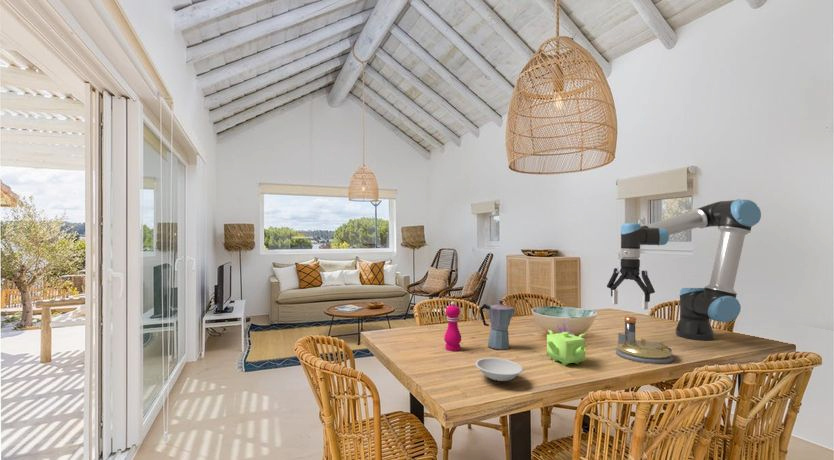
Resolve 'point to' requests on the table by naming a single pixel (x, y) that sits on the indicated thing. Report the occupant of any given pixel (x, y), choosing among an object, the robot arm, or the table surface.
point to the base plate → (643, 358)
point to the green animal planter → (566, 347)
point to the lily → (564, 328)
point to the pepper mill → (452, 328)
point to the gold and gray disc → (642, 347)
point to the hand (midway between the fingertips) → (629, 306)
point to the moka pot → (498, 324)
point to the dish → (499, 368)
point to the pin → (629, 324)
